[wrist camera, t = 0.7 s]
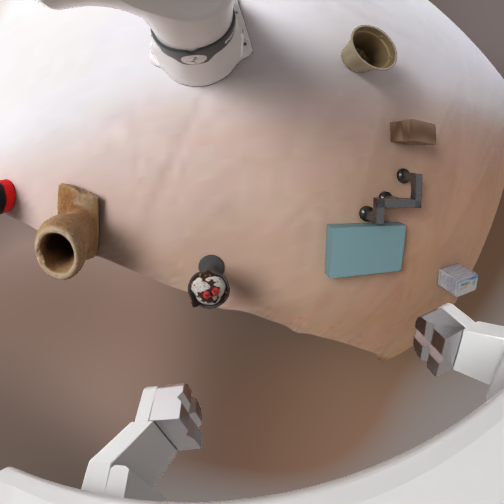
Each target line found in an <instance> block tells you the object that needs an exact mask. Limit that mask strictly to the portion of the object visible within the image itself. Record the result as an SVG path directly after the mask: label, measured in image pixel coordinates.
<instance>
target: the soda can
mask: <svg viewBox="0 0 504 504" xmlns="http://www.w3.org/2000/svg"><path fill="white" fill-rule="evenodd" d="M14 202H15V189H14V186H13V184H12V183H11V182H10V181H9V180H6V179H5V180H0V214H2V213H5V212H8V211H10V210H11V209H12V207H13V205H14Z"/></svg>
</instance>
